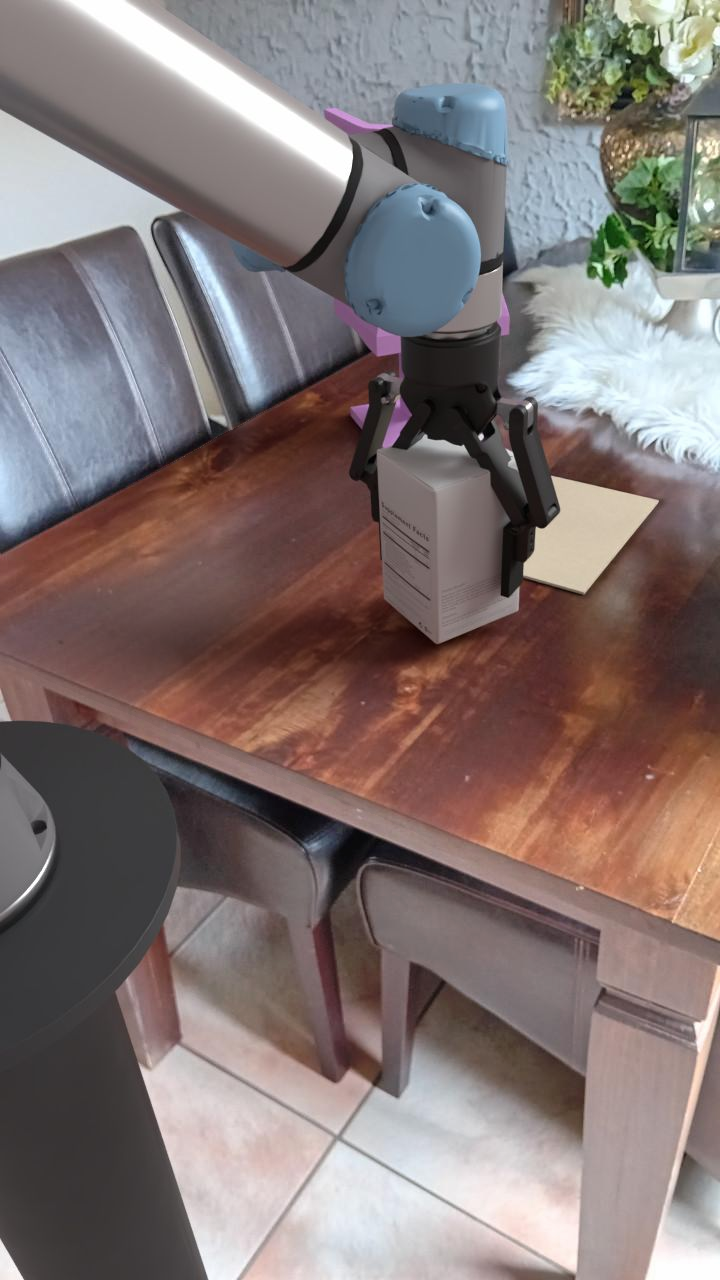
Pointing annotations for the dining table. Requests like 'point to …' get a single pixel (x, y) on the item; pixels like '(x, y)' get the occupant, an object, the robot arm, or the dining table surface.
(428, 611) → the rectangular carton
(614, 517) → the placemat
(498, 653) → the dining table surface
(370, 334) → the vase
